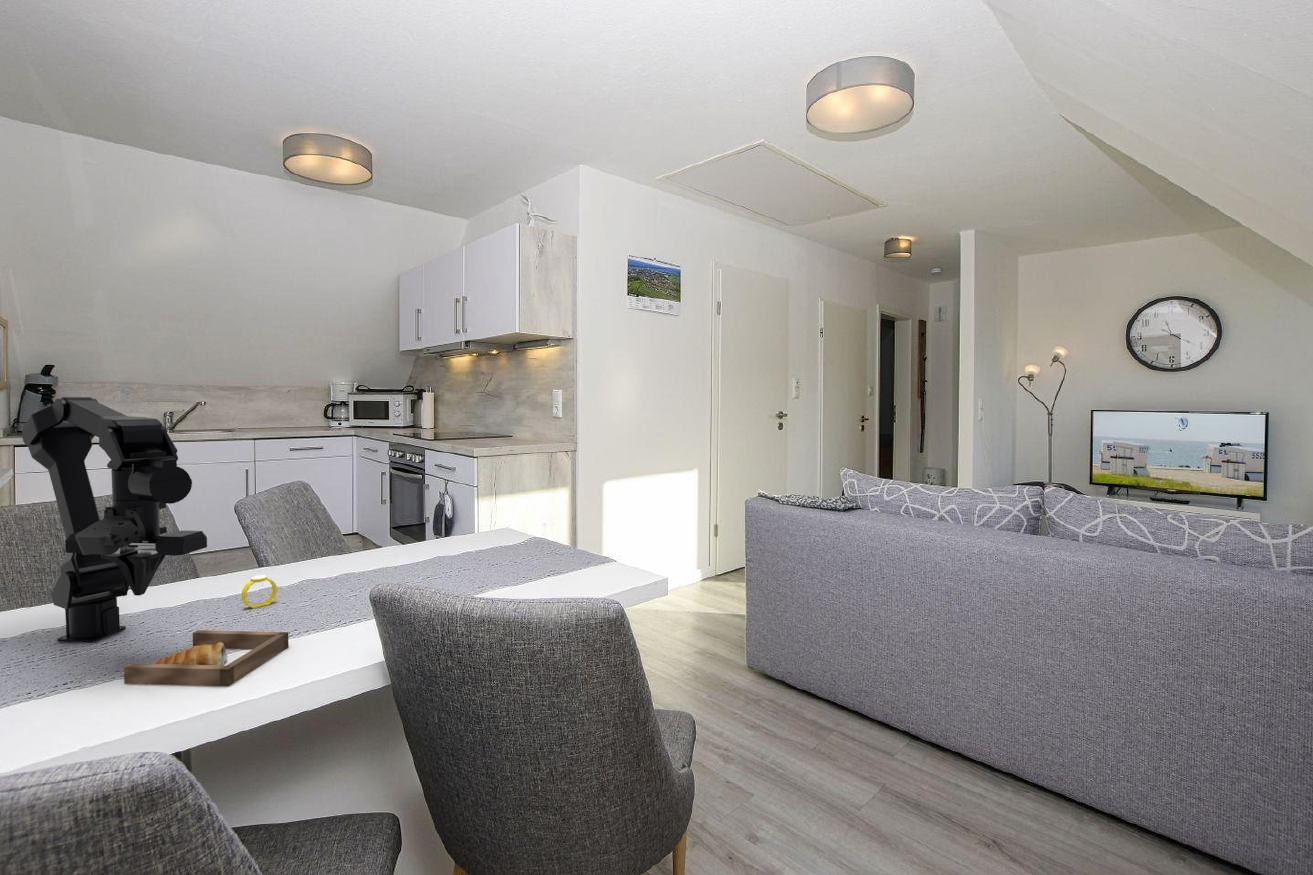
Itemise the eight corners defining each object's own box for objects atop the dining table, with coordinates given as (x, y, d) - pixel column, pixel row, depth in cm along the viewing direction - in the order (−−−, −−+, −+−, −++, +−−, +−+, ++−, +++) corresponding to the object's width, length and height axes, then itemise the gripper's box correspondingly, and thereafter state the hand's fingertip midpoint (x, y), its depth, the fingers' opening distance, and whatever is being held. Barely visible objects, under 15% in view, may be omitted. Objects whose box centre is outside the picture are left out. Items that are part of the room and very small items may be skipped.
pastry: (145, 687, 91) (145, 661, 90) (153, 670, 96) (153, 645, 96) (224, 674, 95) (224, 649, 95) (228, 658, 101) (227, 634, 101)
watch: (247, 612, 122) (244, 583, 122) (241, 609, 124) (237, 580, 123) (280, 602, 127) (277, 573, 126) (273, 599, 129) (270, 571, 128)
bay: (124, 683, 91) (123, 666, 91) (198, 644, 106) (197, 630, 105) (228, 686, 91) (228, 669, 91) (288, 646, 105) (288, 632, 105)
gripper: (26, 505, 92) (31, 610, 93) (151, 508, 92) (155, 613, 93) (96, 493, 103) (100, 587, 104) (208, 496, 103) (210, 590, 104)
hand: (139, 594), depth 101 cm, fingers closed
